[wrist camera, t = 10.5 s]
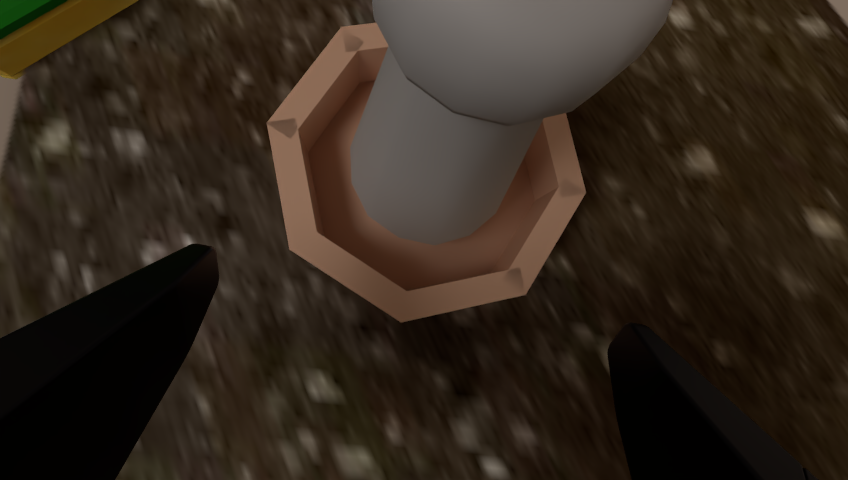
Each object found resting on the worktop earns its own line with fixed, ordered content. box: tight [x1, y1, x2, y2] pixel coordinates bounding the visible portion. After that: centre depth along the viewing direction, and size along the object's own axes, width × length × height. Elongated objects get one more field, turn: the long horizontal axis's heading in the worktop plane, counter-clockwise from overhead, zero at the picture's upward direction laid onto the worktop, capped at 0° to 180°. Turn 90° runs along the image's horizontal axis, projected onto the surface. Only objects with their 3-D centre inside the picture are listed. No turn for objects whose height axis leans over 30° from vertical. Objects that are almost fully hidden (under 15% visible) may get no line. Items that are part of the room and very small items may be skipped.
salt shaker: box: [350, 0, 673, 245], centre depth 11 cm, size 6×6×13 cm
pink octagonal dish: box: [267, 23, 586, 323], centre depth 17 cm, size 11×11×3 cm
